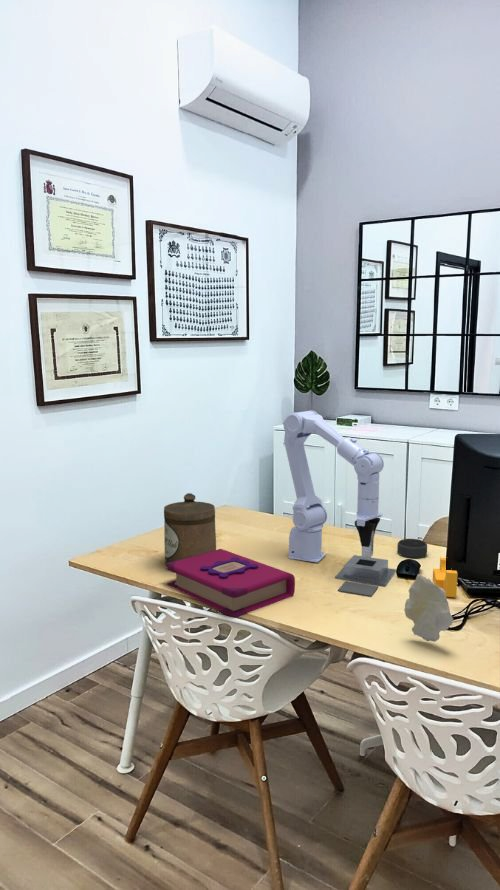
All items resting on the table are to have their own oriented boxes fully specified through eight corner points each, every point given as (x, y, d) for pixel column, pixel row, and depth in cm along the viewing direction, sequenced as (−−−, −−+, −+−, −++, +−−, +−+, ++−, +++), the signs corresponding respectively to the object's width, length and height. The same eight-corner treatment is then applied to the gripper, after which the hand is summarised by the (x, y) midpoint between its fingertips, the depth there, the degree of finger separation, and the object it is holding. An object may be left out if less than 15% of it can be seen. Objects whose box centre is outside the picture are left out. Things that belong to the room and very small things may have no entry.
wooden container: (165, 560, 195) (164, 488, 191) (214, 558, 196) (214, 487, 193) (164, 578, 180) (162, 500, 177) (217, 575, 182) (217, 499, 178)
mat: (337, 591, 170) (337, 589, 170) (345, 582, 176) (345, 581, 176) (371, 597, 166) (371, 595, 166) (378, 587, 173) (378, 586, 173)
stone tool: (454, 644, 140) (458, 578, 138) (448, 650, 137) (451, 583, 135) (407, 630, 147) (410, 567, 144) (400, 636, 144) (403, 571, 142)
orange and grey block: (361, 556, 180) (362, 530, 179) (364, 553, 183) (364, 527, 182) (370, 557, 179) (371, 531, 178) (373, 554, 182) (373, 528, 181)
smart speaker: (416, 549, 206) (417, 536, 205) (432, 557, 197) (433, 545, 197) (391, 551, 203) (392, 539, 202) (407, 560, 195) (407, 547, 194)
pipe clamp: (432, 579, 179) (433, 557, 178) (448, 580, 178) (450, 558, 177) (438, 596, 167) (440, 572, 166) (456, 597, 167) (457, 573, 166)
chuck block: (334, 578, 179) (335, 566, 179) (348, 564, 191) (348, 552, 190) (385, 586, 173) (385, 573, 173) (396, 571, 185) (396, 559, 184)
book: (224, 570, 187) (224, 545, 186) (295, 597, 167) (295, 569, 166) (164, 588, 173) (164, 561, 172) (234, 621, 153) (233, 590, 152)
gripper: (375, 504, 170) (374, 554, 173) (388, 493, 183) (387, 539, 186) (349, 501, 173) (348, 550, 176) (364, 490, 186) (363, 536, 188)
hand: (366, 544), depth 181 cm, fingers closed on orange and grey block, 2 cm apart
